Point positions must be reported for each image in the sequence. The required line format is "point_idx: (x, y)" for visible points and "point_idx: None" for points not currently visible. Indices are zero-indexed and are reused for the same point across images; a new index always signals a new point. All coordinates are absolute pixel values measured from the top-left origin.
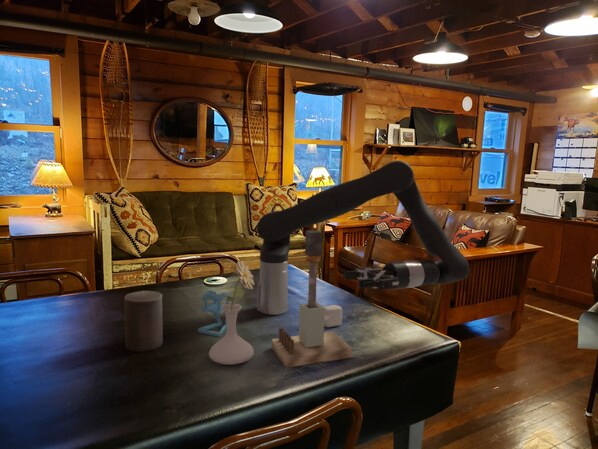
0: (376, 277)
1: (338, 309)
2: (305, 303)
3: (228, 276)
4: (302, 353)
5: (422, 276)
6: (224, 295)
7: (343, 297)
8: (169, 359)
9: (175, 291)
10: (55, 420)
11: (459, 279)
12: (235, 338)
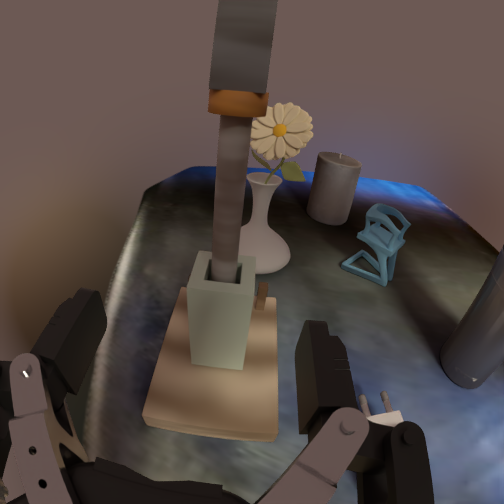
0: (33, 400)
1: None
2: (254, 267)
3: None
4: (182, 314)
5: None
6: (378, 216)
7: None
8: (278, 220)
9: (492, 265)
10: (203, 174)
11: None
12: (247, 227)
